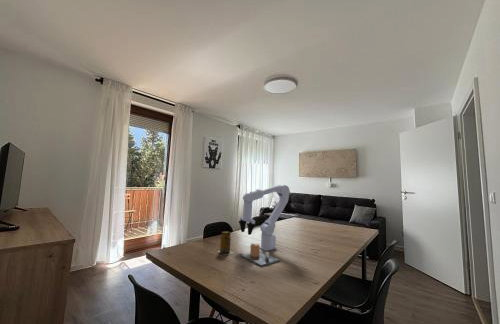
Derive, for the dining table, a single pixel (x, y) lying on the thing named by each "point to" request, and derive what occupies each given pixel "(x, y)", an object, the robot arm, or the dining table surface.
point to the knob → (255, 250)
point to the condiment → (225, 243)
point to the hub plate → (260, 259)
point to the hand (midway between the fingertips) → (246, 233)
